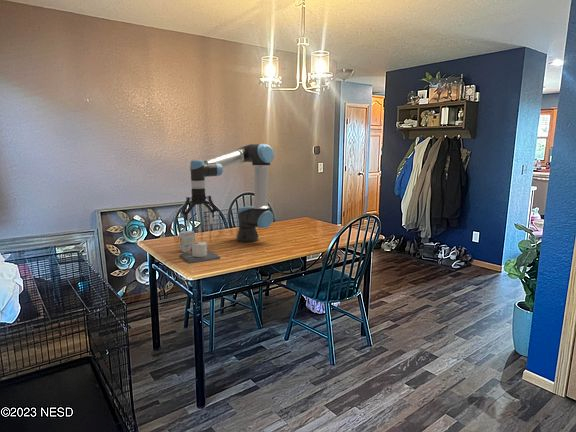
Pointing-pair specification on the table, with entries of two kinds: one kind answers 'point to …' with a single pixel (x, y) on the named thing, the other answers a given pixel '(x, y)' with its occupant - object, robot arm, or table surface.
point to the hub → (192, 259)
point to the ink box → (186, 240)
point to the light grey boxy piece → (199, 249)
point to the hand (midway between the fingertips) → (199, 225)
